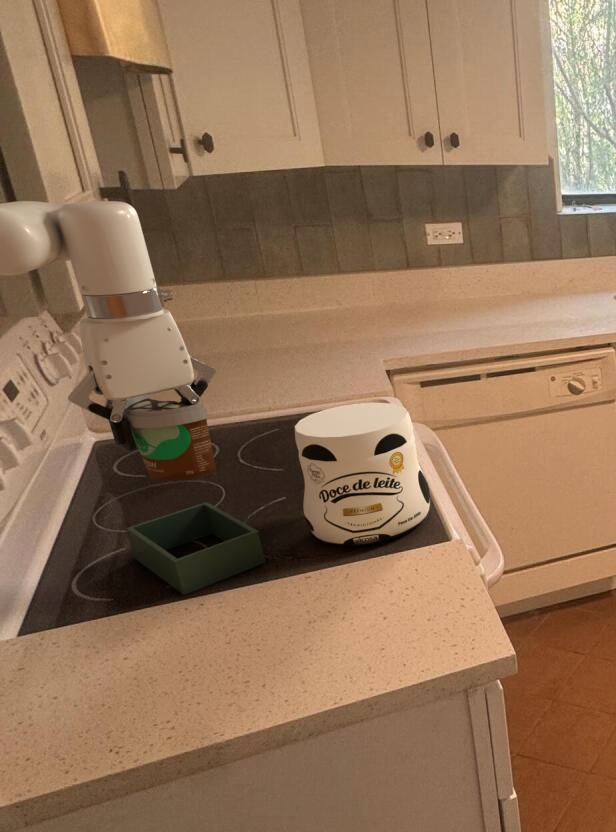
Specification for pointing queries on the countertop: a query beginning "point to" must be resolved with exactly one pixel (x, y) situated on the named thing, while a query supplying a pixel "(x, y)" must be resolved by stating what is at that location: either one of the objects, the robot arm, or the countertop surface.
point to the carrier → (204, 564)
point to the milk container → (361, 474)
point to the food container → (171, 438)
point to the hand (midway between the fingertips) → (161, 438)
